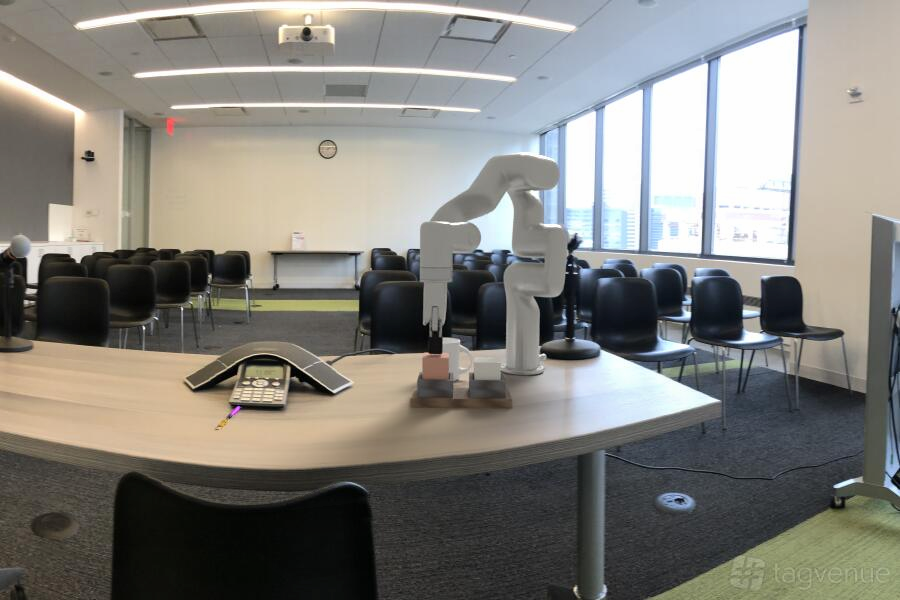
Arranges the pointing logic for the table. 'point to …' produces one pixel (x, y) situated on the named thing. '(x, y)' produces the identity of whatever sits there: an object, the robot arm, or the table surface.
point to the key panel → (461, 393)
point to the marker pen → (229, 416)
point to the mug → (455, 356)
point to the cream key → (487, 368)
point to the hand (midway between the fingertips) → (435, 353)
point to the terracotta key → (435, 366)
